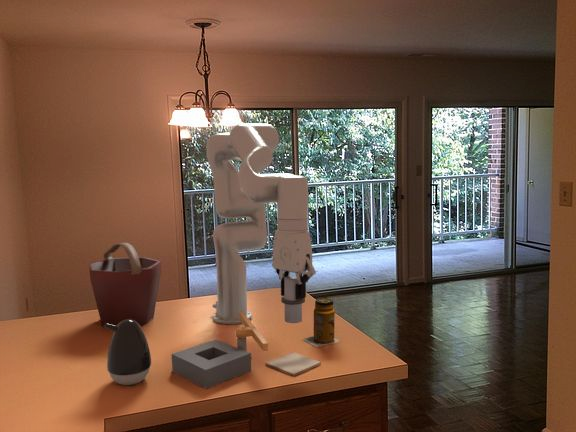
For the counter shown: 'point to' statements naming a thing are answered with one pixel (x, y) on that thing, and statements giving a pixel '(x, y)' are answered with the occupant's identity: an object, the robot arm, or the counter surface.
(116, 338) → the pump dispenser
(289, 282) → the plug
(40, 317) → the counter surface
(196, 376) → the socket block
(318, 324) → the condiment
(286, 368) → the pad
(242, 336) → the knobbed wooden stick
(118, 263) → the bucket
